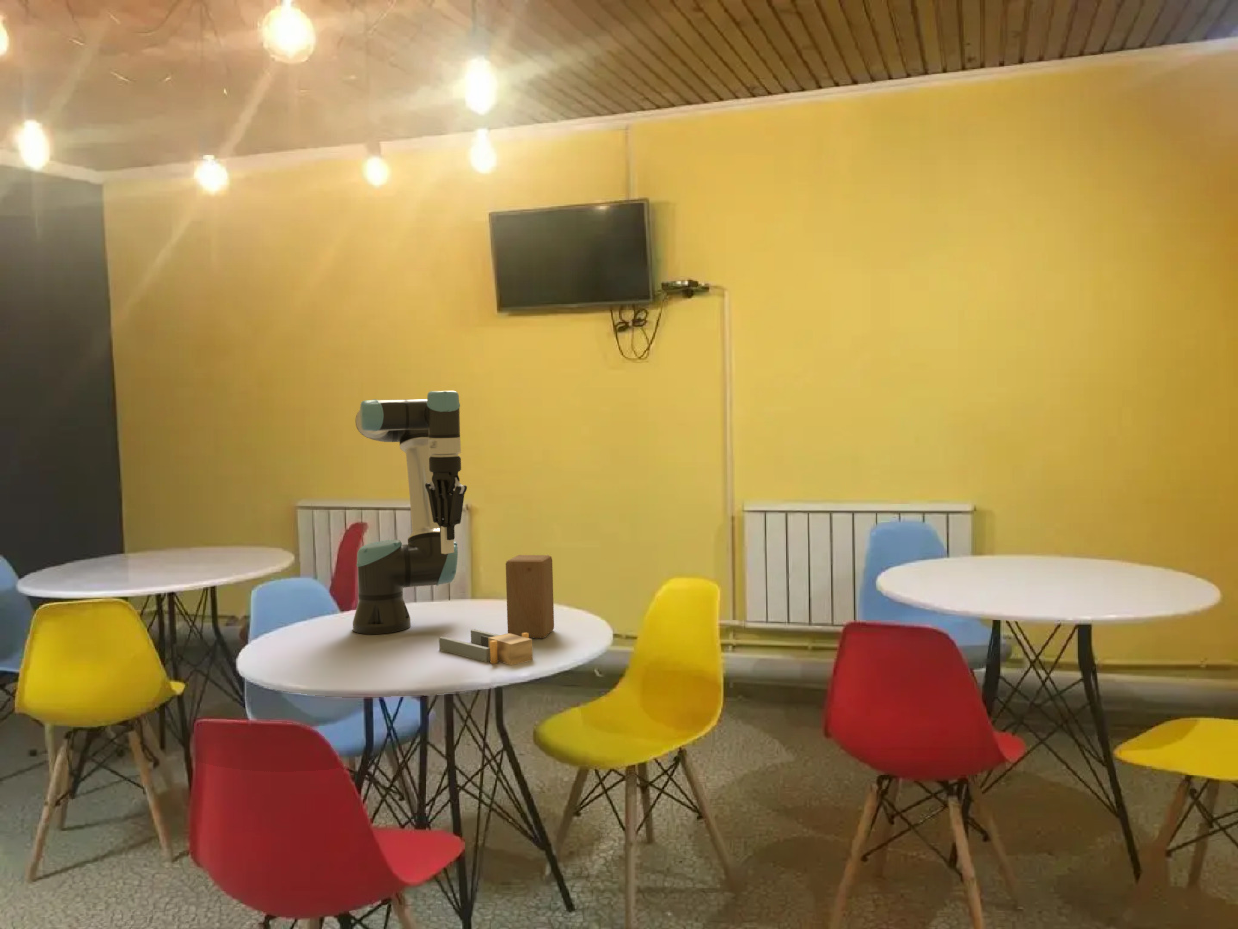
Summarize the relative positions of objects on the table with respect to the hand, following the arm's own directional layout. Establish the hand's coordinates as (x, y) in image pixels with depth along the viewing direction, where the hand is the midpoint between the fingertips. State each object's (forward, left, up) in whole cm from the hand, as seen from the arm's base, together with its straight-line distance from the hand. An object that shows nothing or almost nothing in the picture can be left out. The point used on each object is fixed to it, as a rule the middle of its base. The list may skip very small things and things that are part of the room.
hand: (447, 552), depth 221 cm
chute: (+8, +4, -24) cm, 25 cm away
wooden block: (+4, +23, -24) cm, 33 cm away
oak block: (+18, +4, -24) cm, 30 cm away
